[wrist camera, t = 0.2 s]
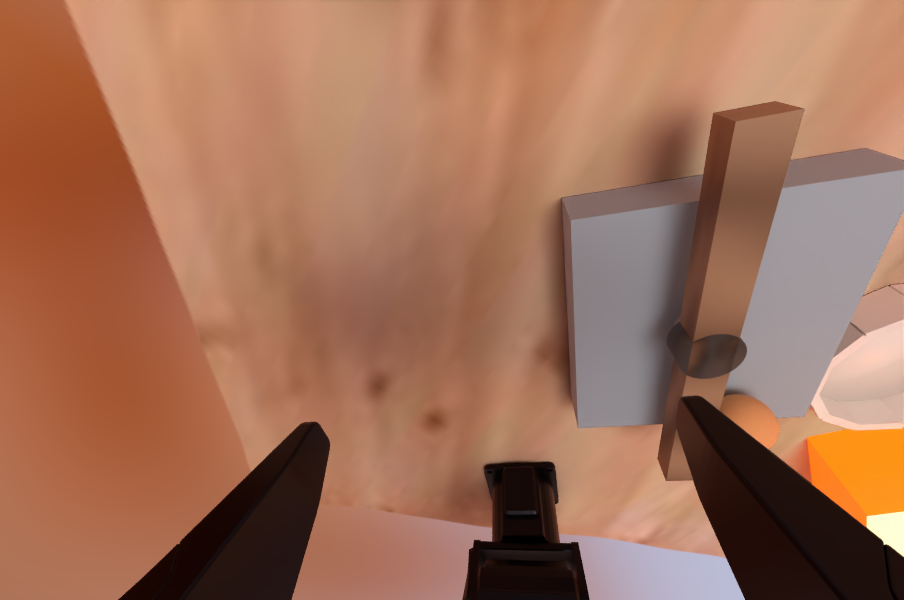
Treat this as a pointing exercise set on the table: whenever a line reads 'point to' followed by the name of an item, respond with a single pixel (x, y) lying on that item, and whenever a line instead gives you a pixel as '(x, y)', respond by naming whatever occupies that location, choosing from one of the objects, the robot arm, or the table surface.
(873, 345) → the bowl
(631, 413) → the board
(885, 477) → the orange juice
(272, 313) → the table surface
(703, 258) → the lever
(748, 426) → the ball
